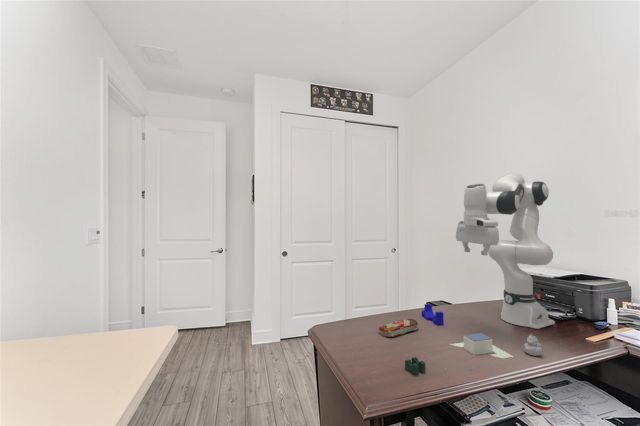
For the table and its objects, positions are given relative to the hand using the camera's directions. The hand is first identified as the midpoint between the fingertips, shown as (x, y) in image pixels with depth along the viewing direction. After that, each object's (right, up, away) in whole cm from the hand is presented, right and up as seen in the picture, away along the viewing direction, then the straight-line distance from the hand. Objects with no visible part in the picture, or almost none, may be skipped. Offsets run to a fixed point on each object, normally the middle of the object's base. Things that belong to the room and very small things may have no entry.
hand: (475, 253), depth 117 cm
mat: (-9, -34, -16) cm, 39 cm away
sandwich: (-33, -35, 0) cm, 48 cm away
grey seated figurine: (+11, -34, -18) cm, 40 cm away
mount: (-37, -35, -31) cm, 59 cm away
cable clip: (-13, -35, +13) cm, 39 cm away
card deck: (-9, -34, -16) cm, 38 cm away
